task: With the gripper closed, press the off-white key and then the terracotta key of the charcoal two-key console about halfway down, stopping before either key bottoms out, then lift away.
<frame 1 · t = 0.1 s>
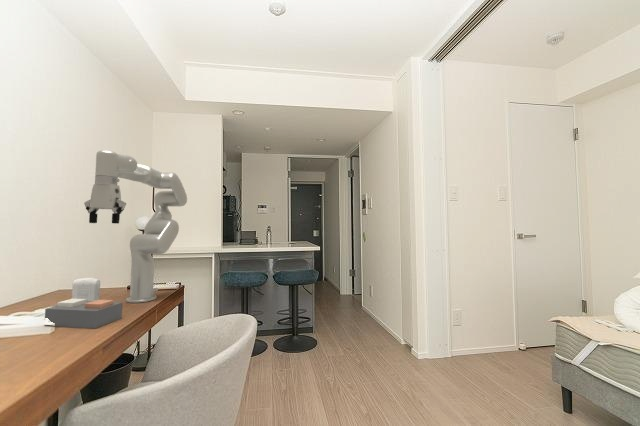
hand: (104, 223, 121), 37 cm above the table, tool pointing down, fingers open, 9 cm apart
white key: (72, 306, 111), point 5 cm above the table, slide at 0.0 cm
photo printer: (85, 306, 130), on the table
key console: (84, 321, 110), on the table
terracotta key: (99, 308, 110), point 5 cm above the table, slide at 0.0 cm
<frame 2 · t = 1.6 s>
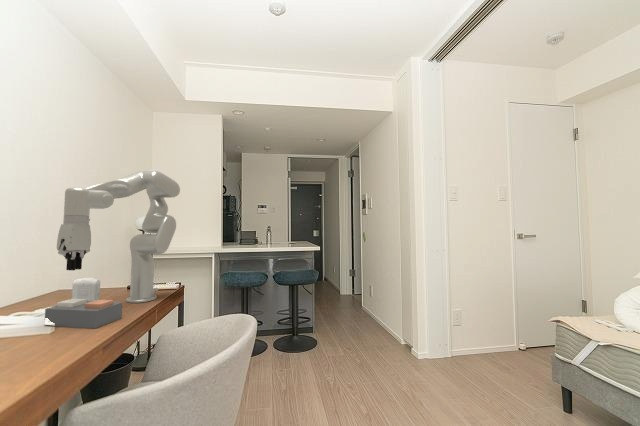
hand: (74, 269, 111), 19 cm above the table, tool pointing down, fingers closed
nothing on the table moved.
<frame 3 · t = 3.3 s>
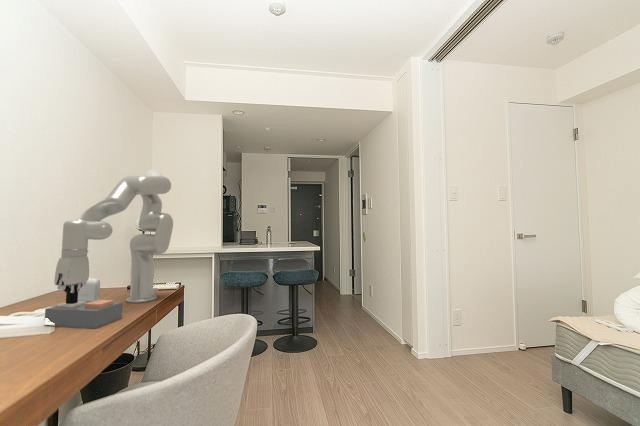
hand: (71, 303, 110), 7 cm above the table, tool pointing down, fingers closed
white key: (71, 309, 111), point 4 cm above the table, slide at 0.8 cm, touching gripper
everything else where it was.
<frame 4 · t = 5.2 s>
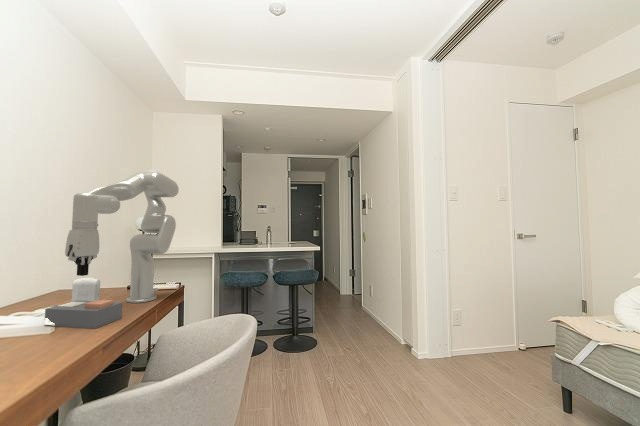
hand: (82, 275, 111), 17 cm above the table, tool pointing down, fingers closed
white key: (71, 310, 111), point 4 cm above the table, slide at 1.2 cm
everything else where it was.
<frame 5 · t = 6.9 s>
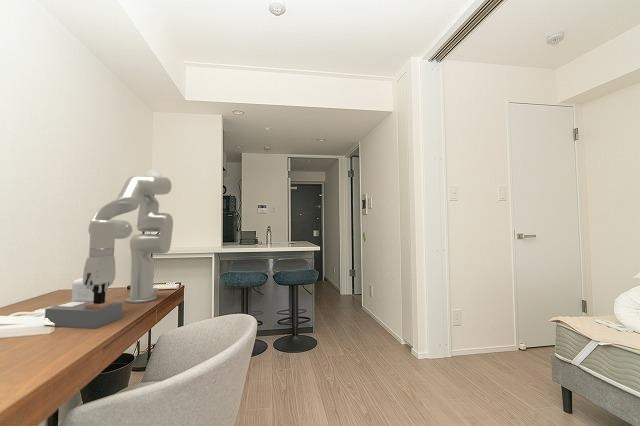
hand: (99, 302, 109), 7 cm above the table, tool pointing down, fingers closed
terracotta key: (99, 309, 110), point 5 cm above the table, slide at 0.4 cm, touching gripper
everything else where it was.
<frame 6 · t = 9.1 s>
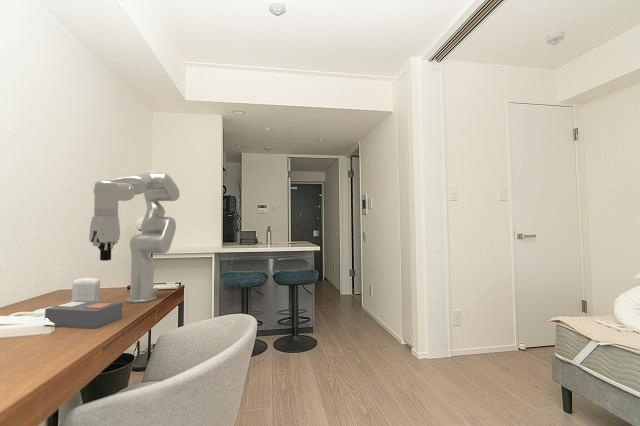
hand: (105, 260, 115), 22 cm above the table, tool pointing down, fingers closed
terracotta key: (99, 311, 110), point 4 cm above the table, slide at 1.2 cm
everything else where it was.
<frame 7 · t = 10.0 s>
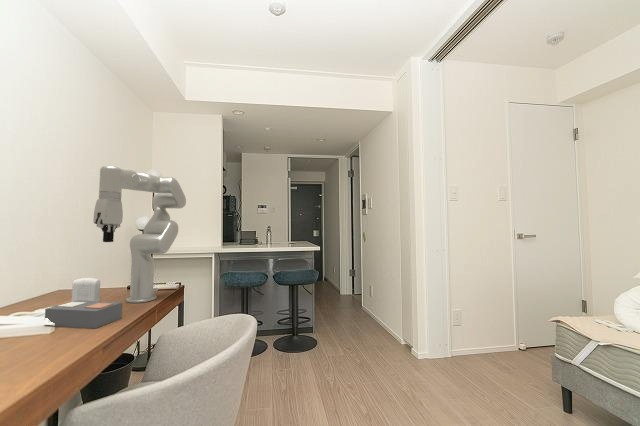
hand: (108, 241, 120), 29 cm above the table, tool pointing down, fingers closed
nothing on the table moved.
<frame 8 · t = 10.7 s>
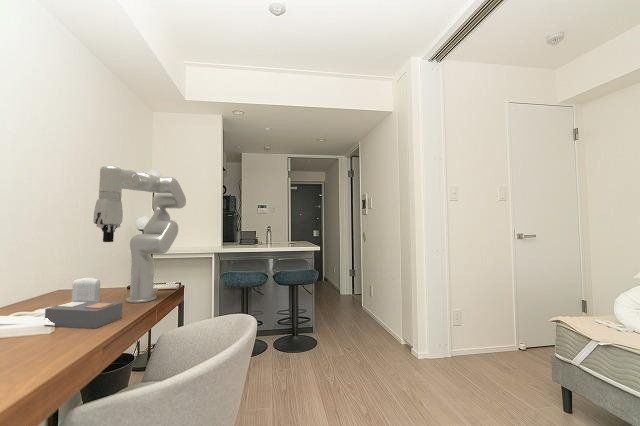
hand: (108, 241, 120), 29 cm above the table, tool pointing down, fingers closed
nothing on the table moved.
at the end: white key slide at 1.2 cm; terracotta key slide at 1.2 cm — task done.
